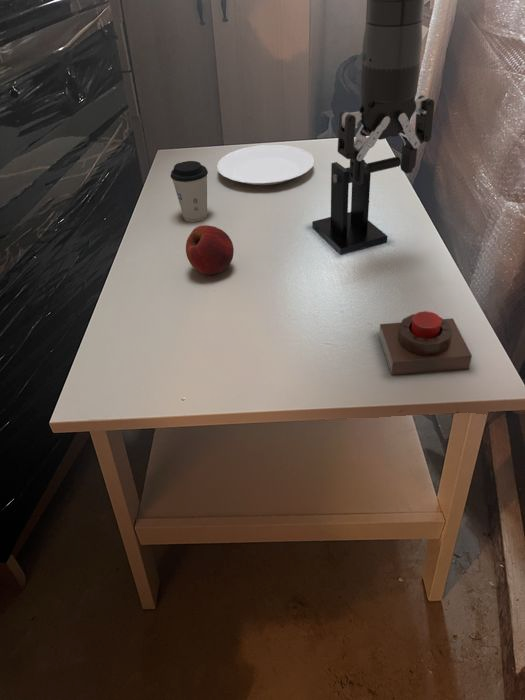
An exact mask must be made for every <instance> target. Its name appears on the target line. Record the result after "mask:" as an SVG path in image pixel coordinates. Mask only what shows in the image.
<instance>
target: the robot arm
mask: <svg viewBox="0 0 525 700" xmlns="http://www.w3.org/2000/svg"><path fill="white" fill-rule="evenodd" d="M424 6H425V0H366V10H365V11H366V12H365V13H366V14H365V28H364V34H363V39H362V53H361V77H360V78H361V79H360V98H361V105H360V107H359V110H358V111H351V112H348V111H346V110H342V111H340V113H339V115H338V117H339V118H338V135H337V136H338V137H337V153H338V154H339V155H341V156H342V157H344V158H345V159H347V160H349V167H350V178H351V179H352V180H353V182H355V183H356V184H357V185H361V184H363V183H364V166H365V162H366V160H365V159H364V158H365V157H366V156H367V154H368V152H369V151H370V149H372V148H374V146H375V145H376V144H377V142H378V140H379V141H382V140H386V139H387V138H389V137H391V138H394V137H399V136H400V137H401V139H402V141H403V143H404V145H403V144H402V146H401V158H400V160H401V164H400V170H401V171H402V172H403V173H405V174H407V175H408V174H411V173H413V170H414V169H415V167H416V163H417V154H418V148H419V147H420V145H421V144H423V143H428V142H430V141H431V139H432V133H433V124H434V123H433V122H434V110H435V100H434V99H432V98H430V97H427V96H425V95H422V94H421V95H419V96H418V98H416V96H417V93H418V85H419V75H420V65H421V55H422V47H423V46H422V45H423V16H424V15H423V14H424ZM415 98H416V99H415ZM414 113H415V125H414V126H415V127H413V126H412V124H411V122H410V121H411V118H412V117H413V115H414ZM359 123H361V125H360V127H359ZM358 127H359V129H358ZM357 129H358V131H357V132H356V130H357ZM368 134H369V135H368ZM367 135H368V136H367Z"/></svg>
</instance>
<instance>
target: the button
mask: <svg viewBox="0 0 525 700" xmlns="http://www.w3.org/2000/svg"><path fill="white" fill-rule="evenodd" d="M414 314H415V315H414V316H413V318H412V326H411V331H412V333H413V334H414V335H415V336H417V337H421V338H425V339H429V338H435V337H436V336H438V335H439V333H440V328H441V322H442V321H441V318H442V317H441V316H439V314H437V313H435V312H432V311H425V310H424V311H418V312H416V313H414ZM440 317H441V318H440Z"/></svg>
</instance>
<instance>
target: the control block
mask: <svg viewBox="0 0 525 700" xmlns="http://www.w3.org/2000/svg"><path fill="white" fill-rule="evenodd" d="M415 314H416V313H413V314H411V315H408V316H406V317H405V318H402V320H401V322H390V323H389V322H388V323H380V324H379V332H378V337H379V338H378V339H379V341H380V344H381V347H382V350H383V353H384V356H385V359H386V362H387V366H388V368H389V372H390V374H391V376H394V375H405V374H406V375H407V374H416V373H417V374H419V373H432V372H442V371H444V372H445V371H457V370H467V369H468V370H469V369H470V365H471V363H472V358H473V357H472V356H473V355H472V353H471V351H470V349H469V347H468V345H467V343H466V342H465V339H464V337H463V335H462V334H461V331H460V329H459V327H458V326H457V324H456V322H455V320H454V318H443V317H441V316H439V317H440V318H441V321H442V322H441V328H440V333H439V335H438V336H436V337H435V338H429V339H425V338H421V337H417V336H415V335H414V334H413V333H412V331H411V326H412V318H413V316H414V315H415Z"/></svg>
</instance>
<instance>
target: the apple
mask: <svg viewBox="0 0 525 700" xmlns="http://www.w3.org/2000/svg"><path fill="white" fill-rule="evenodd" d="M234 250H235V247H234V244H233V241H232V239H231V238H230V236H229V235H228V233H226V232H225V231H224V230H222V229H221V228H219V227H216V226H214V225H207V224H202V225H199V226H196V227H195V228H193V229H192V231H191V232H190V234H189V235H188V237H187V240H186V242H185V255H186V257H187V258H186V259H187V261H188V262H189V264H190V266H192V267H193V269H194V270H196V271H197V272H199V273H200V274H203V275H207V276H208V275H209V276H210V275H216V274H220V273H222V272H223V271H224V270H226V269H227V268H228V267H229V266H230V265H231V263H232V261H233V259H234V252H235V251H234Z"/></svg>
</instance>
